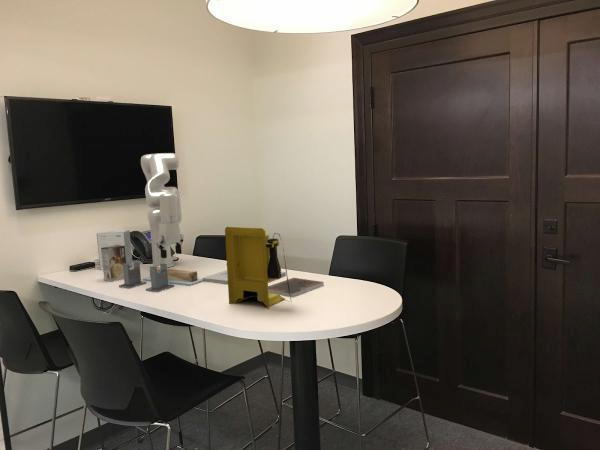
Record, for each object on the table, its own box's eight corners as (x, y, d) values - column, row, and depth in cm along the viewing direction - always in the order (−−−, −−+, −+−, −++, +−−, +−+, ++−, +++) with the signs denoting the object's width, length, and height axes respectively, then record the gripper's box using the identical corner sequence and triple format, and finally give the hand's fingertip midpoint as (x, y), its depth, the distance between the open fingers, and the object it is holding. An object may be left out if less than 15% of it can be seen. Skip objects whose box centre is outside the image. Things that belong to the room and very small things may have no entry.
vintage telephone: (305, 302, 191) (302, 224, 187) (286, 312, 179) (282, 229, 175) (239, 294, 207) (236, 221, 203) (218, 302, 195) (213, 226, 191)
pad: (158, 275, 247) (157, 274, 247) (205, 280, 232) (205, 279, 232) (142, 280, 238) (142, 278, 238) (190, 285, 224) (190, 284, 223)
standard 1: (136, 282, 235) (134, 260, 234) (146, 283, 231) (145, 261, 230) (118, 287, 226) (117, 264, 225) (129, 288, 223) (127, 265, 222)
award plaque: (235, 271, 252) (235, 267, 252) (285, 276, 237) (285, 271, 237) (202, 282, 231) (202, 277, 231) (255, 288, 216) (255, 283, 216)
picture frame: (293, 299, 199) (323, 287, 216) (292, 292, 198) (323, 281, 215) (261, 293, 209) (293, 282, 226) (261, 287, 208) (293, 277, 225)
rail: (156, 275, 243) (155, 267, 243) (197, 280, 231) (197, 271, 230) (150, 277, 240) (149, 269, 239) (191, 282, 227) (190, 273, 227)
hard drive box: (133, 266, 273) (130, 230, 271) (127, 269, 266) (124, 232, 263) (106, 266, 275) (103, 230, 273) (99, 269, 267) (96, 232, 265)
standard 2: (162, 285, 227) (160, 262, 225) (174, 286, 223) (172, 263, 222) (145, 290, 218) (144, 267, 217) (157, 292, 214) (155, 268, 213)
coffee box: (120, 276, 249) (117, 244, 247) (128, 277, 245) (125, 245, 243) (103, 280, 242) (100, 247, 240) (111, 281, 238) (108, 248, 236)
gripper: (176, 216, 241) (178, 251, 244) (149, 222, 226) (151, 258, 229) (188, 217, 237) (190, 252, 240) (161, 223, 223) (163, 260, 225)
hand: (171, 255), depth 235 cm, fingers open, 9 cm apart
